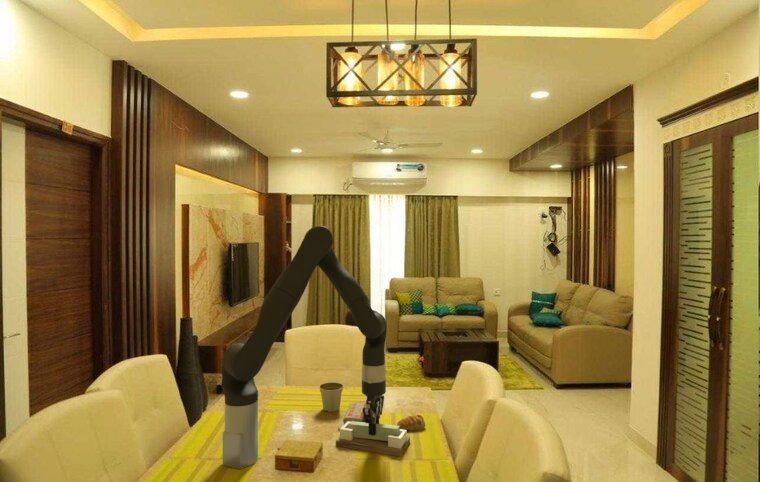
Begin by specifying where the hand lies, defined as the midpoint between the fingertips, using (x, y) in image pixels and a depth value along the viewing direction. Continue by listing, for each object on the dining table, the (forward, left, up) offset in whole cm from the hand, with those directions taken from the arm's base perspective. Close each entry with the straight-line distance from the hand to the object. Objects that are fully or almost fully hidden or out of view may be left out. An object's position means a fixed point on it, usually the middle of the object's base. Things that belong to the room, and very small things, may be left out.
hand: (373, 432), depth 143 cm
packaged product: (+15, +12, -4) cm, 20 cm away
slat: (0, 0, -2) cm, 2 cm away
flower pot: (+22, +25, -4) cm, 34 cm away
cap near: (0, -8, -2) cm, 8 cm away
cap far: (0, +8, -2) cm, 8 cm away
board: (0, 0, -3) cm, 3 cm away
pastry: (+16, -8, -4) cm, 19 cm away
